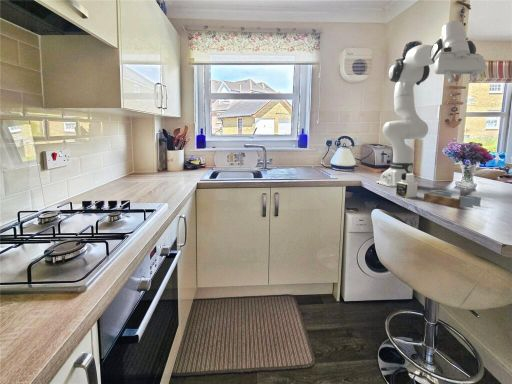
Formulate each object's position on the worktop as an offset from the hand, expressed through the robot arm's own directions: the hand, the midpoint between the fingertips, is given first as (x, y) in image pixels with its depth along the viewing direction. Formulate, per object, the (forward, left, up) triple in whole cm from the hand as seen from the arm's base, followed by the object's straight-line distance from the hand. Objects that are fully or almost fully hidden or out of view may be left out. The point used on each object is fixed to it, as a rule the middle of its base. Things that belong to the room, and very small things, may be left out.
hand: (462, 81), depth 140 cm
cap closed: (-12, +11, -54) cm, 56 cm away
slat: (-5, +2, -54) cm, 54 cm away
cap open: (+2, +11, -54) cm, 55 cm away
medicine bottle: (-25, +3, -54) cm, 60 cm away
